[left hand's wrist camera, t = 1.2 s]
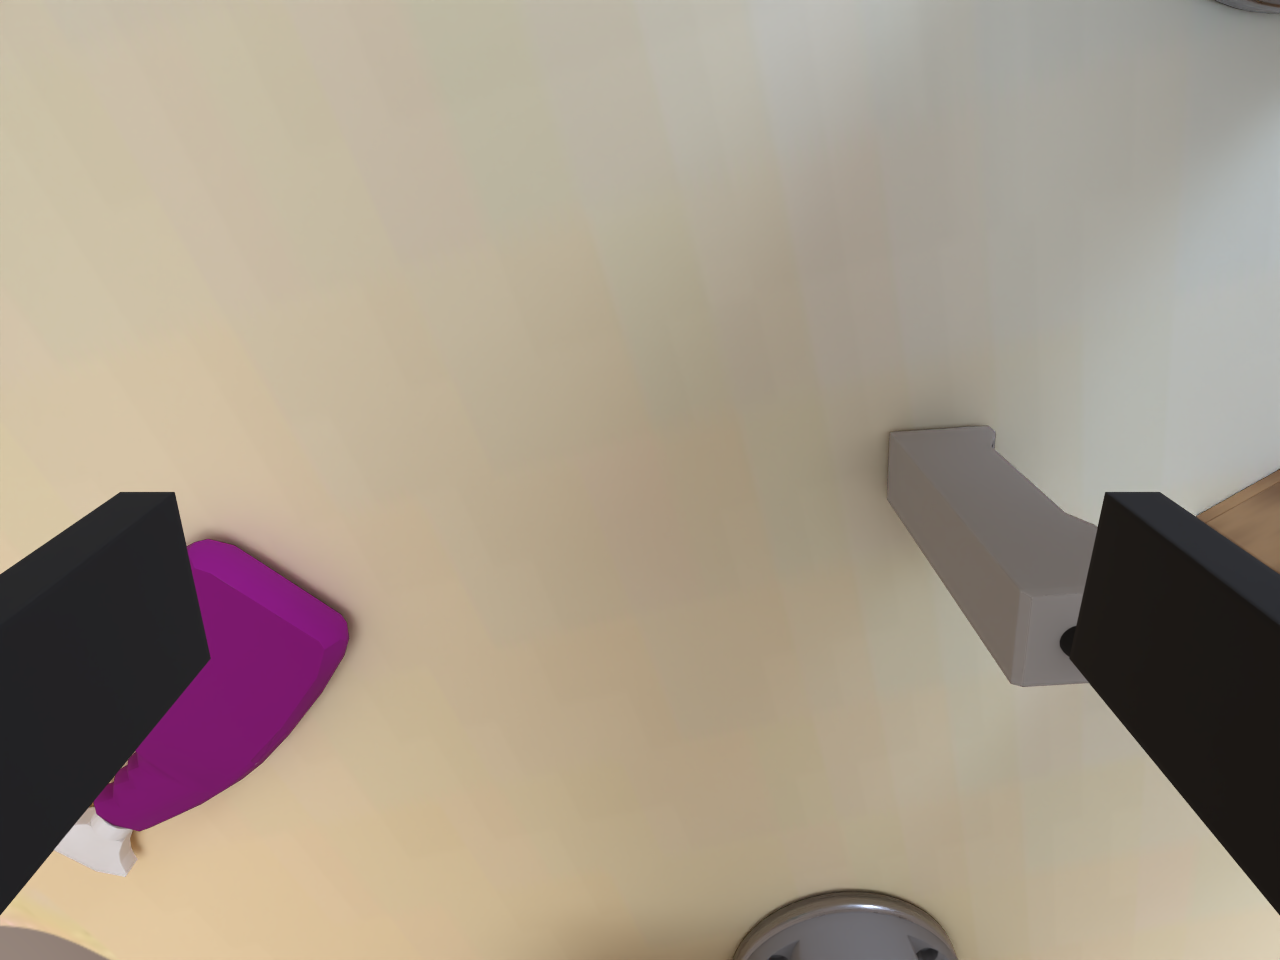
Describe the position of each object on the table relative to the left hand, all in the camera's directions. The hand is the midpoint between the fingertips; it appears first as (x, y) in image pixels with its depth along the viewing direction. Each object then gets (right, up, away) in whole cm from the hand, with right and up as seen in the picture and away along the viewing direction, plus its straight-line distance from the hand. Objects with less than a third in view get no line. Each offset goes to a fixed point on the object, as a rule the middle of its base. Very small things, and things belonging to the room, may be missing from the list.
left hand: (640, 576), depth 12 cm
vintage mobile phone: (+15, +2, +32) cm, 35 cm away
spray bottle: (-27, -12, +38) cm, 48 cm away
